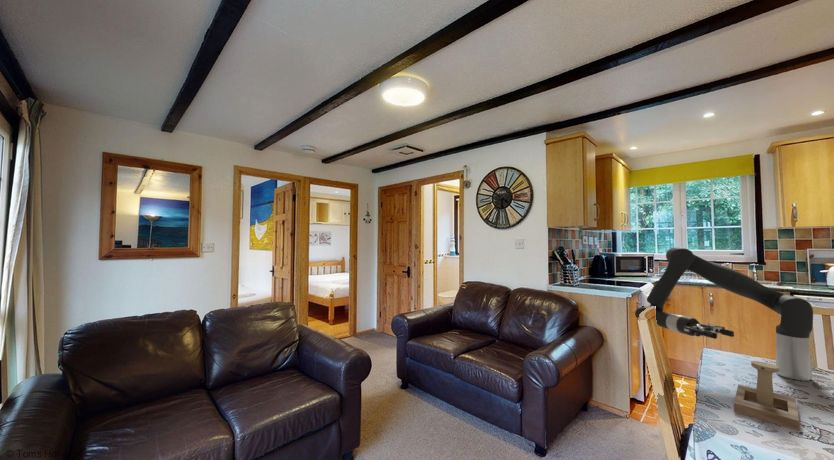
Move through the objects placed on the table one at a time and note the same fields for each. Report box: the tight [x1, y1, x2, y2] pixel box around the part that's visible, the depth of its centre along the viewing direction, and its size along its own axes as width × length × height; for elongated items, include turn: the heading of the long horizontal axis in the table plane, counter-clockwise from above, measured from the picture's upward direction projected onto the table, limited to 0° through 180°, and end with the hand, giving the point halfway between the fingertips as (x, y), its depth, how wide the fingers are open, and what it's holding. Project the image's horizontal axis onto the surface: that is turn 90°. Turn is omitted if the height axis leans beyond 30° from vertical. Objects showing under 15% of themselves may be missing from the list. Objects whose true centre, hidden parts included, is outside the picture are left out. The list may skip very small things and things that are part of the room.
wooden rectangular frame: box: [733, 383, 800, 431], centre depth 109 cm, size 20×14×3 cm
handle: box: [750, 360, 779, 408], centre depth 110 cm, size 5×6×15 cm
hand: (725, 335), depth 126 cm, fingers open, 8 cm apart
